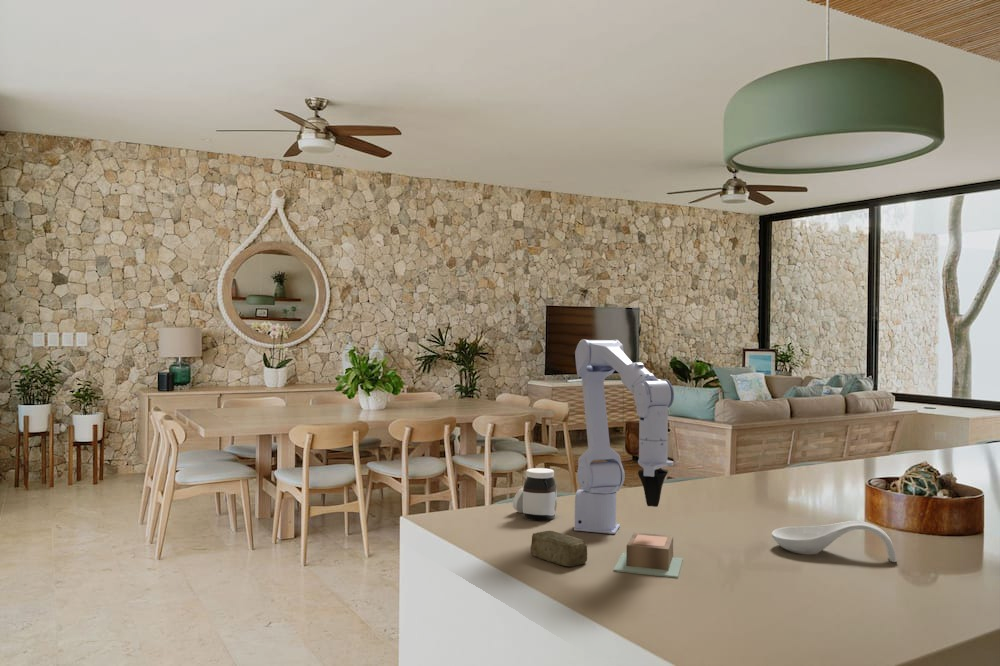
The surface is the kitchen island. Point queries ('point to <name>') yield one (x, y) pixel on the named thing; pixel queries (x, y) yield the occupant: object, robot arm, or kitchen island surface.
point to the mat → (672, 571)
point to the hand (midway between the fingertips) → (652, 505)
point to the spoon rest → (824, 536)
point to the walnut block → (650, 551)
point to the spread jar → (537, 495)
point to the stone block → (559, 548)
